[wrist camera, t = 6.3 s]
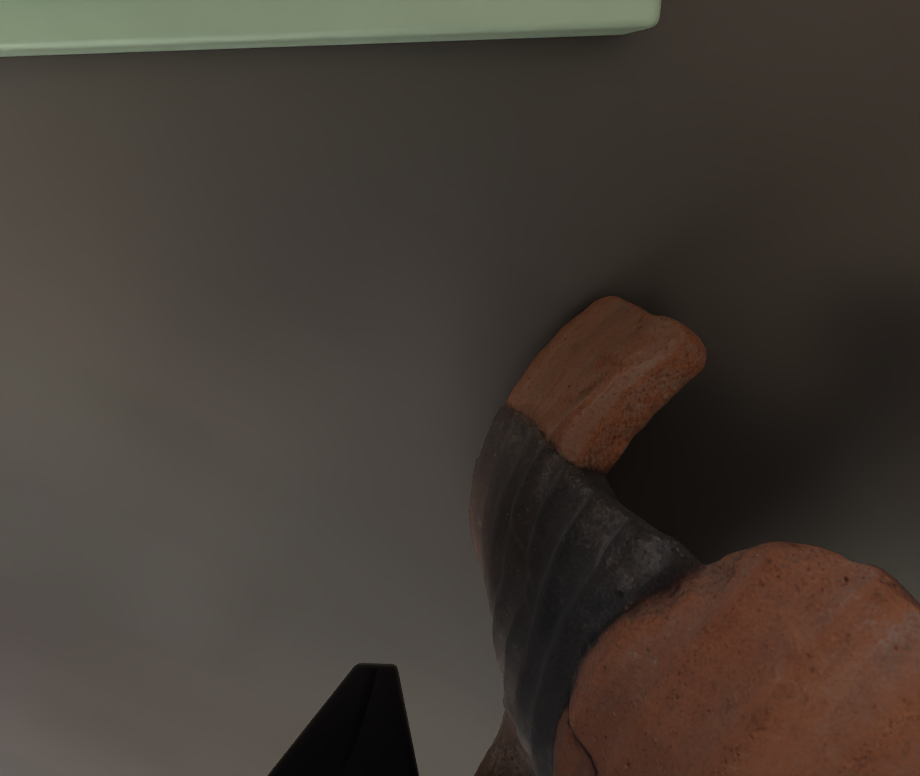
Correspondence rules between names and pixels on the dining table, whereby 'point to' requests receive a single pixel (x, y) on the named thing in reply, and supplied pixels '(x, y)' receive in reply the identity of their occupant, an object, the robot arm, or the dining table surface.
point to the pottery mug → (667, 598)
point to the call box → (299, 22)
